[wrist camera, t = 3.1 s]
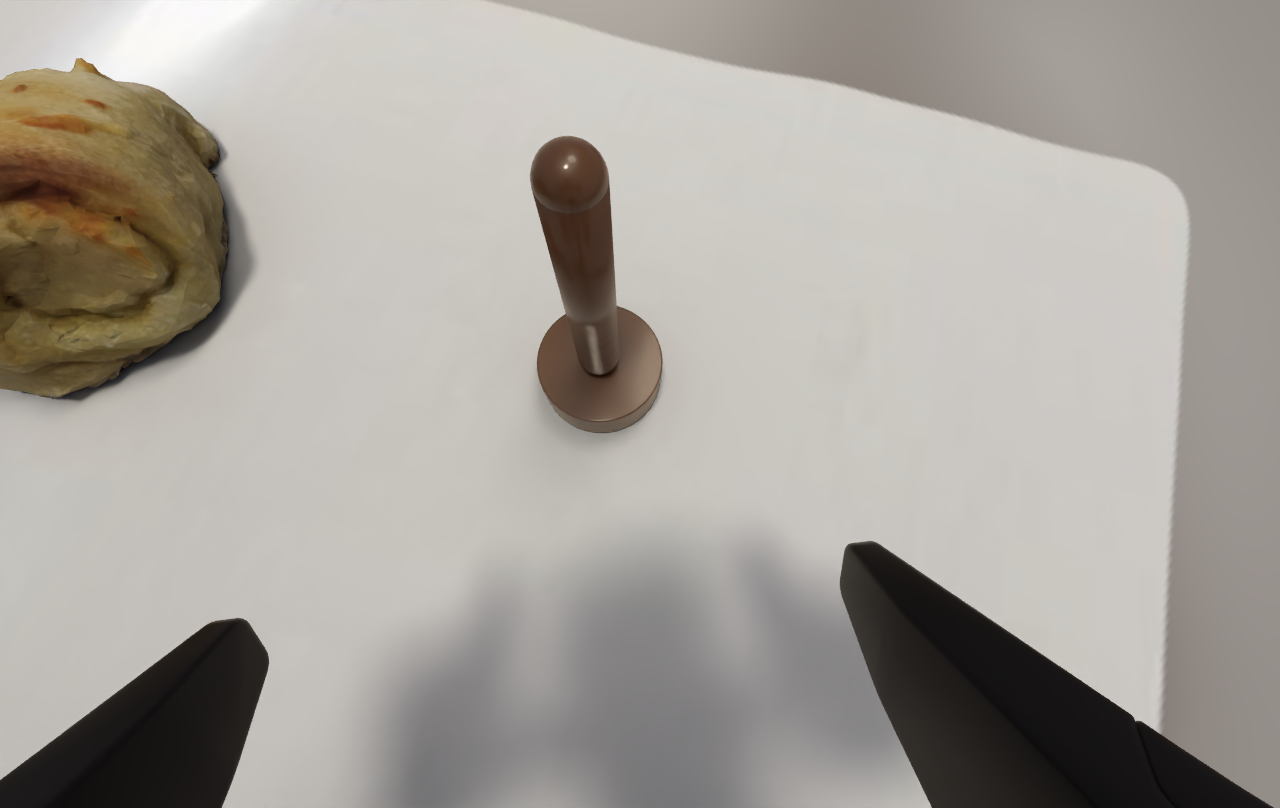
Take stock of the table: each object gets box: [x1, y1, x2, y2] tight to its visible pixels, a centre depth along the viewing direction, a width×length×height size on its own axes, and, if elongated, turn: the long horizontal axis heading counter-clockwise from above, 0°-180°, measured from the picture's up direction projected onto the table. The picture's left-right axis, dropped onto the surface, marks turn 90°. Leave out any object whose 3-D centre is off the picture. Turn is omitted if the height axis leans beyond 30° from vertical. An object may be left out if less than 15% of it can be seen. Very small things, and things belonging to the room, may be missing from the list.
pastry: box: [0, 58, 228, 399], centre depth 21 cm, size 14×12×8 cm
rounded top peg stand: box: [530, 136, 662, 433], centre depth 17 cm, size 5×5×14 cm
